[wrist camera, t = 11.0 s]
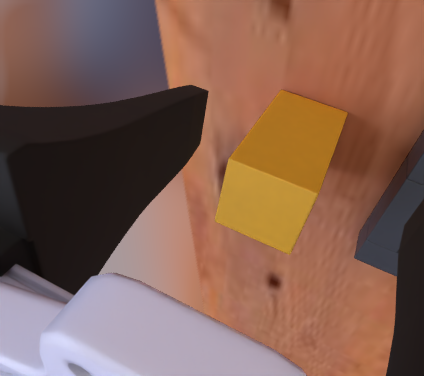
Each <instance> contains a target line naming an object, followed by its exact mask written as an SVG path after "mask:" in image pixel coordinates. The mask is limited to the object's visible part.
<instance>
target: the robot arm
mask: <svg viewBox="0 0 424 376" xmlns="http://www.w3.org/2000/svg"><path fill="white" fill-rule="evenodd" d="M207 98H208V91H207V90H204V89H202V88H199V87H196V86H193V85H187V86H182V87H177V88H173V89H169V90H165V91H161V92H157V93H153V94H149V95H145V96H141V97H136V98H130V99H126V100H121V101H116V102H110V103H103V104H95V105H86V106H70V107H18V106H17V107H16V106H3V105H0V376H307V375H306V374H305V372H304V371H303V370H302V368H300V367H299V366H297V365H296V364H294V363H293V362H292V361H290V360H289V359H287V358H286V357H284V356H283V355H281V354H280V353H279V352H277V351H276V350H274V349H272V348H270V347H268V346H266V345H265V344H263V343H261V342H259V341H257V340H255V339H253V338H251V337H249V336H247V335H245V334H243V333H241V332H239V331H237V330H235V329H233V328H231V327H229V326H227V325H225V324H223V323H221V322H220V321H218V320H216V319H214V318H212V317H210V316H208V315H206V314H204V313H202V312H200V311H198V310H196V309H194V308H192V307H190V306H188V305H186V304H184V303H182V302H180V301H178V300H176V299H175V298H173V297H170V296H169V295H167V294H164V293H163V292H161V291H159V290H157V289H155V288H153V287H151V286H149V285H147V284H145V283H143V282H141V281H139V280H136V279H133V278H129V277H126V276H123V275H120V274H117V273H107V274H102V275H98V274H99V272H100V271H101V269H102V268H103V266H104V265H105V263H106V261H107V260H108V259H109V257H110V256H111V254H112V253H113V251H114V250H115V248H116V247H117V246H118V244H119V243H120V241H121V240H122V238H123V237H124V236H125V234H126V233H127V231H128V230H129V229H130V227H131V226H132V225H133V223H134V222H135V221H136V219H137V218H138V217H139V215H140V214H141V213H142V211H143V210H144V209H145V208H146V207H147V206H148V205H149V203H150V202H151V201H152V200H153V199H154V198H155V197H156V196H157V195H158V194H159V193H160V192H161V191H162V190H163V189H164V188H165V187H166V185H167V184H168V183H169V182H170V181H171V180H172V179H173V178H174V177H175V176H176V174H178V172H179V171H180V170H181V169H182V168H183V167H184V166H185V165H186V164H187V162H188V161H189V159H190V158H191V157H192V155H193V154H194V152H195V151H196V149H197V148H198V146H199V144H200V142H201V135H202V129H203V123H204V116H205V110H206V104H207ZM386 376H424V199H423V200H422V202H421V203H420V205H419V206H418V207H417V209H416V210H415V211H414V213H413V214H412V215H411V217H410V218H409V220H408V221H407V222H406V224H405V225H404V229H403V234H402V238H401V242H400V247H399V253H398V268H397V290H396V313H395V326H394V335H393V340H392V346H391V352H390V358H389V363H388V368H387V373H386Z"/></svg>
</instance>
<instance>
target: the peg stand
mask: <svg viewBox="0 0 424 376" xmlns="http://www.w3.org/2000/svg"><path fill="white" fill-rule="evenodd" d="M423 199H424V130H423V132H422V134H421V135H420V137H419V138H418V140H417V142H416V143H415V145H414V146H413V148H412V150H411V151H410V153H409V155H408V156H407V157H406V159H405V161H404V162H403V164H402V165H401V167H400V169H399V170H398V172H397V173H396V175H395V176H394V178H393V180H392V181H391V183H390V184H389V186H388V188H387V189H386V191H385V192H384V194H383V196H382V197H381V199H380V200H379V202H378V204H377V205H376V207H375V208H374V210H373V212H372V213H371V215H370V216H369V218H368V220H367V221H366V223H365V224H364V226H363V227H362V229H361V231H360V232H359V236H358V241H357V246H356V251H355V256H354V258H355V259H357V260H360V261H362V262H364V263H367V264H369V265H371V266H373V267H376V268H378V269H380V270H383V271H385V272H387V273H390V274H392V275H394V276H397V268H398V253H399V247H400V242H401V238H402V234H403V229H404V225H405V224H406V222H407V221H408V220H409V218H410V217H411V215H412V214H413V213H414V211H415V210H416V209H417V207H418V206H419V205H420V203H421V202H422V200H423Z"/></svg>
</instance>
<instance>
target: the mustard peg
mask: <svg viewBox="0 0 424 376" xmlns="http://www.w3.org/2000/svg"><path fill="white" fill-rule="evenodd" d="M347 115H348V112H345V111H342V110H339V109H336V108H333V107H331V106H328V105H325V104H322V103H319V102H316V101H313V100H310V99H307V98H304V97H302V96H299V95H296V94H293V93H290V92H287V91H284V90H280V92H279V93H278V94H277V96H276V97H275V98H274V100H273V101H272V102H271V104H270V105H269V106H268V108H267V109H266V110H265V112H264V113H263V114H262V115H261V117H260V118H259V119H258V121H257V122H256V123H255V125H254V126H253V127H252V129H251V130H250V131H249V133H248V134H247V135H246V137H245V138H244V139H243V141H242V142H241V143H240V145H239V146H238V147H237V149H236V150H235V151H234V152H233V154H232V155H231V156H230V158H229V160H228V164H227V169H226V173H225V177H224V182H223V186H222V190H221V195H220V199H219V203H218V208H217V212H216V217H215V222H217V223H219V224H222V225H224V226H226V227H228V228H230V229H233V230H235V231H237V232H239V233H242V234H244V235H246V236H248V237H251V238H253V239H255V240H257V241H260V242H262V243H264V244H266V245H269V246H271V247H273V248H275V249H278V250H280V251H282V252H284V253H287V254H289V255H290V254H291V252H292V250H293V248H294V246H295V244H296V241H297V239H298V237H299V235H300V233H301V231H302V229H303V227H304V224H305V222H306V220H307V218H308V216H309V214H310V212H311V210H312V207H313V205H314V203H315V201H316V199H317V197H318V195H319V192H320V189H321V186H322V184H323V181H324V178H325V175H326V173H327V170H328V167H329V164H330V162H331V159H332V156H333V153H334V151H335V148H336V145H337V142H338V140H339V137H340V134H341V131H342V129H343V126H344V123H345V120H346V118H347Z"/></svg>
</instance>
